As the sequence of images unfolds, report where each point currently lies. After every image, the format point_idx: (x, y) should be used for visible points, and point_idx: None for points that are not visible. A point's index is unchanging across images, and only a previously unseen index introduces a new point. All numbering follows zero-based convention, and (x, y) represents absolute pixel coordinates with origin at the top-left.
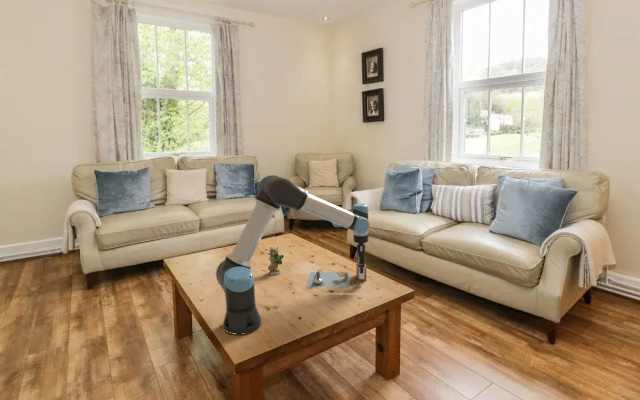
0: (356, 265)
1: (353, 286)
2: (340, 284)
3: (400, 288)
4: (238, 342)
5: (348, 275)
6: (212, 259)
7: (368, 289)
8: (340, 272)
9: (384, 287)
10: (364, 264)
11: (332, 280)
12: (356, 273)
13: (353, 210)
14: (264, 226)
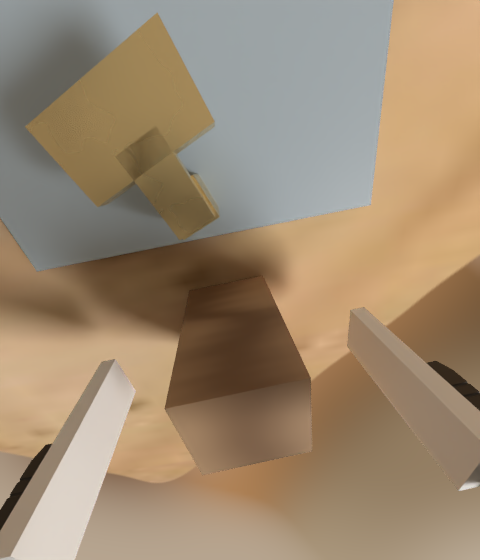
0: (251, 390)
1: (100, 284)
2: (31, 167)
3: (179, 463)
4: None
5: (286, 208)
6: None
7: None
8: (156, 117)
9: (165, 423)
10: (297, 445)
11: (93, 8)
12: (251, 306)
13: None
14: None
